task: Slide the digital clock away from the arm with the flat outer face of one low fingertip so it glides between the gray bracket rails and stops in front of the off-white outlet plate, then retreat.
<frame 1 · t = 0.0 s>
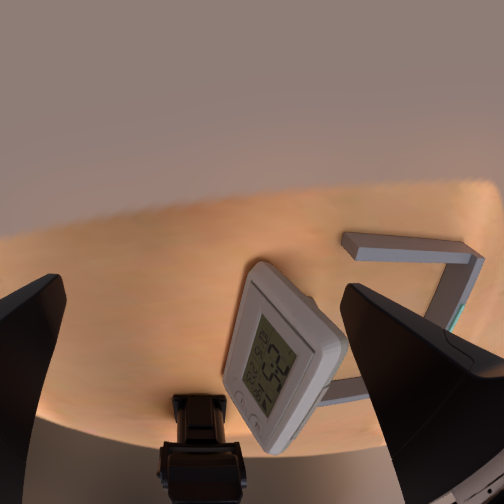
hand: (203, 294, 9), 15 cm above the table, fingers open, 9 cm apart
gray bracket: (406, 320, 32), on the table
digital clock: (260, 327, 29), on the table
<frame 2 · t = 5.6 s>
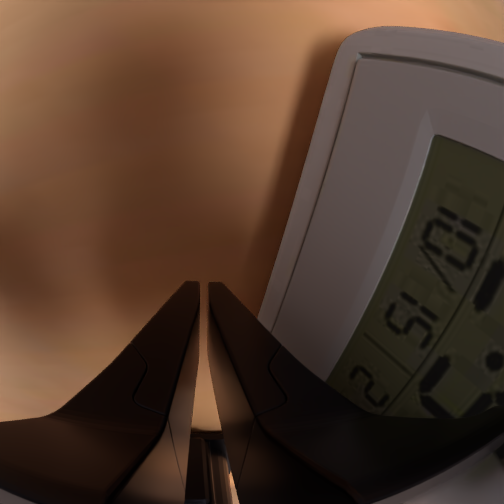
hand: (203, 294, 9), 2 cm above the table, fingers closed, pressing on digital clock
digital clock: (333, 267, 11), on the table, touching gripper
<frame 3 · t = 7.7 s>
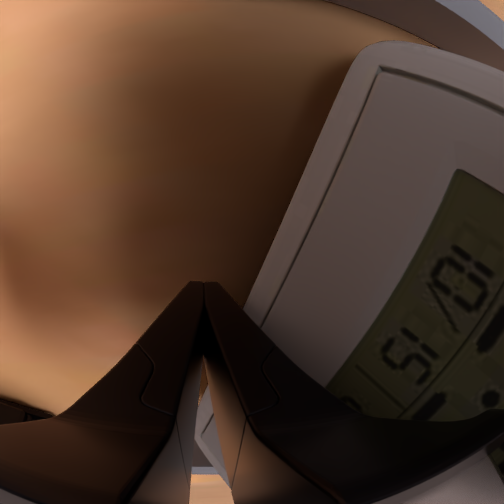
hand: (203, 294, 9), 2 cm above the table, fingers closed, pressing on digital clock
gray bracket: (450, 275, 12), on the table
digital clock: (310, 283, 10), point 1 cm above the table, touching gripper
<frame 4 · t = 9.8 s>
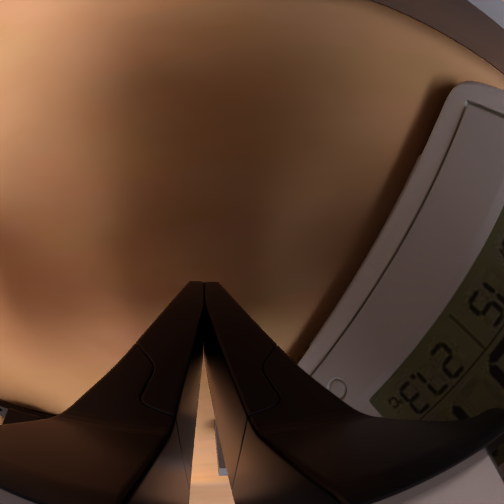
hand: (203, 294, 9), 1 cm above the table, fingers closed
gray bracket: (472, 267, 12), on the table
digital clock: (398, 270, 11), on the table
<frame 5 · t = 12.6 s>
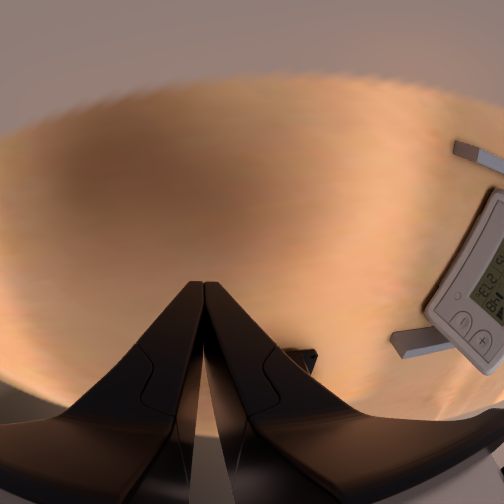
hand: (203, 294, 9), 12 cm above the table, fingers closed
gray bracket: (491, 256, 27), on the table
digital clock: (467, 254, 26), on the table
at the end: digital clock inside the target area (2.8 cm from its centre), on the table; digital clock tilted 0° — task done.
